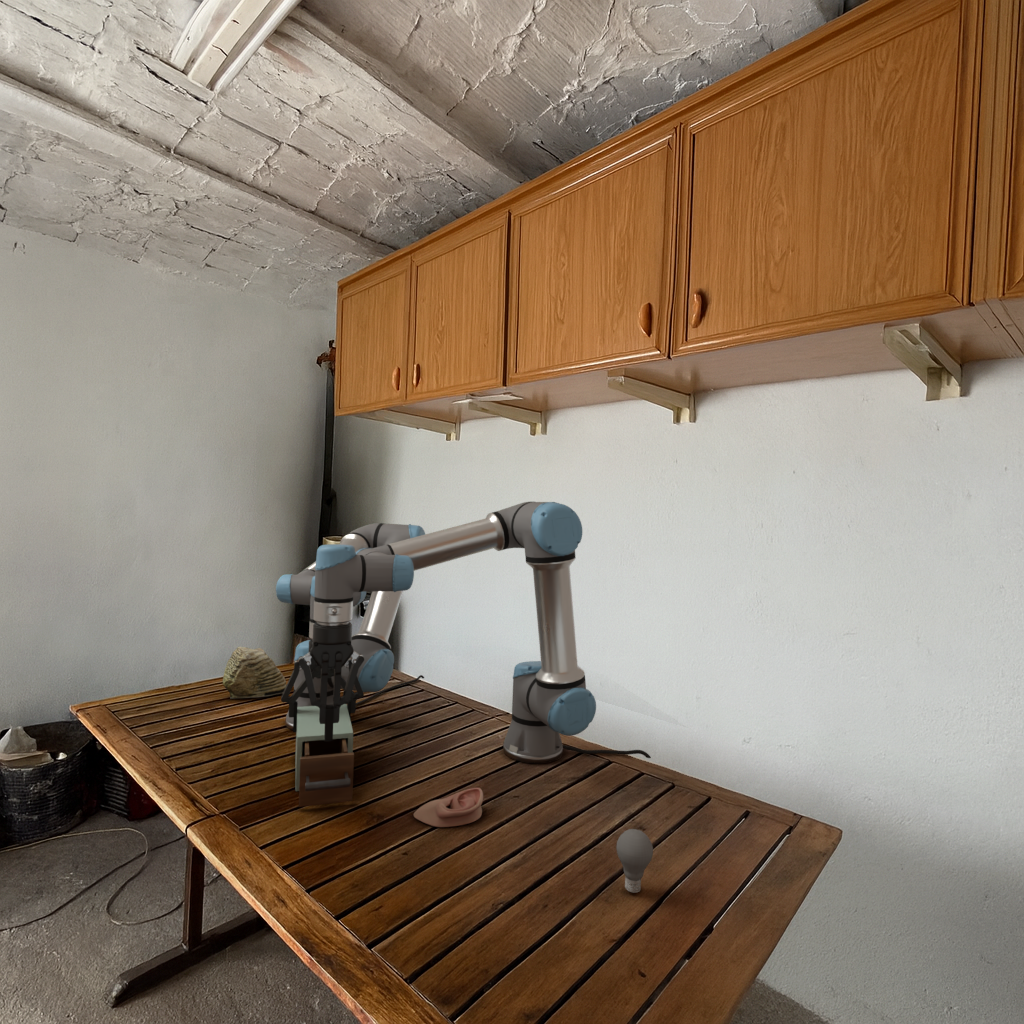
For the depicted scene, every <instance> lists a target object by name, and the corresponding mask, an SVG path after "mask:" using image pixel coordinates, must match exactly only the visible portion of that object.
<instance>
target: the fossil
mask: <svg viewBox="0 0 1024 1024" xmlns="http://www.w3.org/2000/svg"><path fill="white" fill-rule="evenodd" d="M222 676H223V677H222V685H223V687H224V688H225V690H226V691H228V693H229V698H230V699H250V698H264V697H271V696H275V695H281V694H283V692H284V690H285V687H286V685H287V680H286V678H285V676H284V674H283V673H282V672H281V669H279V668H278V667H277V665H276V663H275V662H274V660H273V659H272V658H271V657H270V656H269V655H268V654H267V653H266V652H265V650H264V649H263V648H260V647H258V648H251V647H247V646H246V647H245V646H238V647H237V648H236V649H235V650H233V651H232V653H231V656H230V657H229V659H228V660H227V663H226V666H225V668H224V671H223V675H222Z"/></svg>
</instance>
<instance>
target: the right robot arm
mask: <svg viewBox="0 0 1024 1024" xmlns="http://www.w3.org/2000/svg"><path fill="white" fill-rule="evenodd" d="M582 538H583V525H582V521H581V519H580V517H579V515H578V513H577V512H575V510H573V509H572V508H571V507H570V506H568V505H566V504H563V503H559V502H555V501H525V502H521V503H518V504H515V505H512V506H508V507H506V508H503V509H500V510H496V511H492V512H489V513H487V515H486V516H485V518H482V519H478V520H475V521H471V522H466V523H463V524H460V525H455V526H451V527H449V528H444V529H441V530H437V531H432V532H429V533H425V535H421V536H417V537H414V538H410V539H406V540H402V541H399V542H395V543H391V544H388V545H384V546H380V547H376V548H363V549H360V550H358V551H357V552H355V548H354V547H353V546H351V545H339V544H340V543H339V544H337V543H336V544H335V543H330V544H321V545H320V546H319V547H318V548H317V550H316V557H315V561H316V566H315V596H314V597H315V598H314V620H315V621H316V623H314V625H313V643H312V646H311V648H310V652H309V653H307V654H306V655H304V656H300V657H299V658H298V663H299V665H300V666H301V668H302V669H303V671H304V675H305V680H306V684H307V689H308V693H309V698H310V702H311V705H312V706H317V707H319V708H320V711H319V722H320V724H325V732H324V738H325V742H329V741H333V723H338V722H339V712H340V707H341V705H344V704H348V703H349V701H350V697H351V694H352V691H354V690H353V687H354V683H355V680H356V676H357V673H358V669H359V667H360V666H361V664H362V663H363V662H364V657H363V655H362V654H358V653H357V652H355V651H354V648H353V646H352V636H353V623H352V622H351V621H352V620H353V613H354V612H353V610H354V606H353V594H354V592H366V593H367V592H368V593H369V592H373V591H394V592H396V591H403V592H404V591H405V592H406V591H409V590H410V589H411V587H412V586H413V583H414V579H415V578H414V577H415V571H419V570H422V569H426V568H429V567H433V566H436V565H440V564H443V563H446V562H451V561H454V560H457V559H460V558H464V557H468V556H471V555H475V554H479V553H482V552H486V551H489V550H492V549H494V550H496V552H501V551H505V550H509V549H524V556H525V563H526V564H527V565H528V566H529V567H531V569H532V575H533V584H534V597H535V607H536V608H535V609H536V610H535V611H536V619H537V620H536V621H537V630H538V631H537V632H538V642H539V643H538V644H539V655H540V656H539V657H540V660H530V661H523V662H522V661H521V662H519V663H517V664H515V666H514V668H513V674H512V703H511V721H510V724H509V726H508V730H507V732H506V735H505V738H504V741H503V744H502V745H503V747H502V751H503V753H504V755H505V756H506V757H508V758H510V759H512V760H515V761H516V762H521V763H527V764H548V763H553V762H555V761H557V760H559V759H561V758H562V757H563V755H564V754H563V752H564V750H568V751H572V752H576V753H579V754H585V755H598V754H599V755H604V754H605V755H621V756H622V755H623V756H628V755H629V756H630V755H638V754H639V755H642V756H644V757H645V758H647V759H651V758H652V757H651V755H650V754H649V753H648V752H646V751H645V750H641V749H632V750H630V749H629V750H616V749H613V750H612V749H582V748H579V747H575V746H570V745H566V744H563V741H562V738H561V735H563V736H566V737H570V736H571V737H572V736H576V735H578V734H581V733H583V732H584V731H585V730H586V729H587V728H588V727H589V726H590V723H592V722H593V720H594V718H595V715H596V712H597V701H596V698H595V696H594V694H593V693H592V692H591V690H589V689H588V688H587V684H586V673H585V670H584V669H583V668H581V666H579V664H578V653H577V640H576V628H575V627H576V626H575V616H574V615H575V613H574V605H573V602H574V601H573V590H572V579H571V578H572V577H571V566H572V564H573V563H574V561H575V560H576V550H577V548H578V547H579V545H580V544H581V541H582ZM351 656H352V659H351V661H352V665H351V669H350V672H349V676H348V679H347V683H346V686H345V690H344V689H343V693H342V696H341V692H342V691H341V690H342V689H341V669H342V667H343V666H344V665H345V663H346V662H347V661H348V659H349V658H350V657H351ZM311 658H313V659H314V661H315V662H316V663H317V665H318V666H319V667H320V668H321V684H320V699H319V698H317V697H316V693H315V688H314V684H313V679H312V675H311V670H310V666H309V665H310V664H311ZM331 668H332V669H334V690H333V704H332V705H327V681H328V669H331Z"/></svg>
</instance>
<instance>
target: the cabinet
mask: <svg viewBox="0 0 1024 1024" xmlns="http://www.w3.org/2000/svg"><path fill="white" fill-rule="evenodd" d="M319 711H320V708H319V707H317V706H304V707H297V732H295V777H294V779H295V785H294V786H295V789H294V790H295V792H299V782H300V757H303V753H304V741H316V740H325V738H324V732H325V724H320V722H319ZM341 738H345V739H346V744H347V749H348V753H351V752H353V751H354V730H353V726H352V720H351V721H350V717H349V712H348V708H347V704H344V705H341V707H340V712H339V722H338V723H333V739H341Z"/></svg>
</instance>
